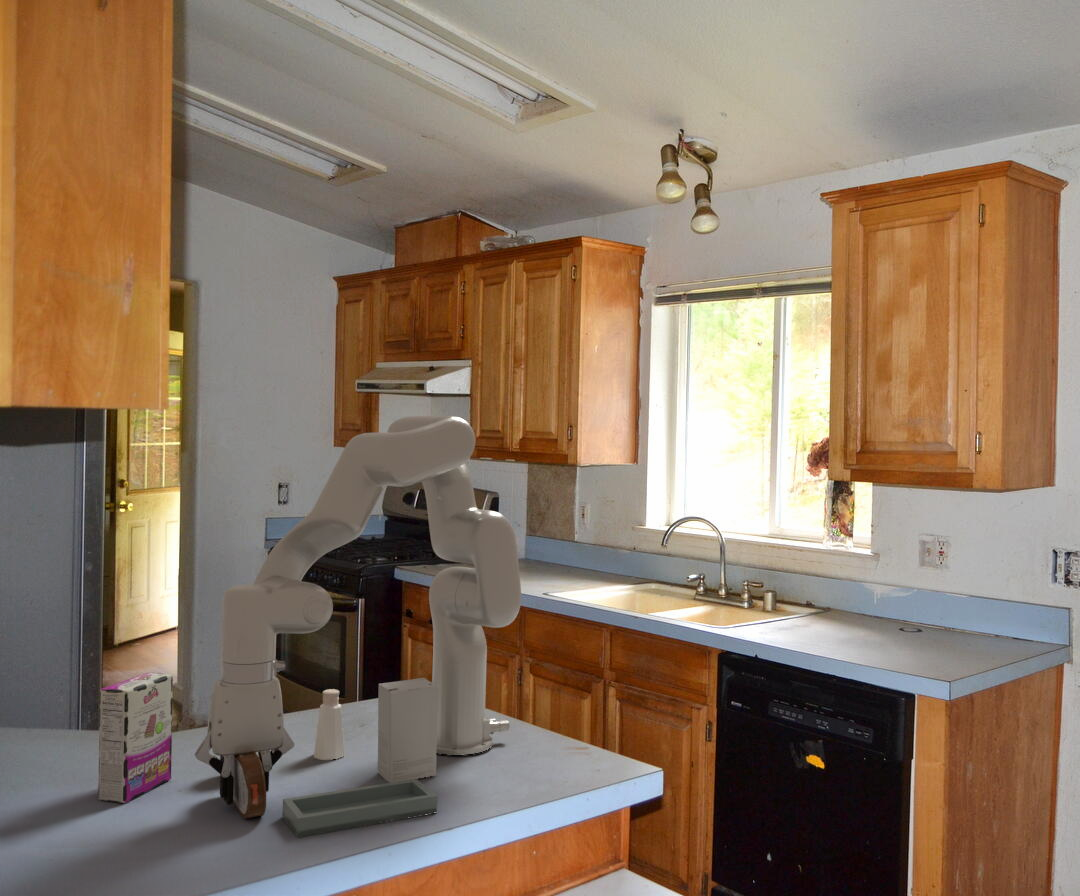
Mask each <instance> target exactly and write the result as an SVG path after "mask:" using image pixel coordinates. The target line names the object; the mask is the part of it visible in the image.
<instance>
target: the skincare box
mask: <svg viewBox="0 0 1080 896" xmlns="http://www.w3.org/2000/svg"><path fill="white" fill-rule="evenodd" d="M437 689H438V686H436V685H435V684H433V683H432V681H430V680H428V679H427V678H425V677H420V678H413V679H406V680H396V681H391V682H383V683H378V698H377V699H378V701H377V704H378V705H377V708H378V709H377V710H378V713H377V716H378V720H377V724H378V725H377V733H378V734H377V773H378V774H379V775H380V776H381V777H382V778H383V779H384V780H385V781H386V780H387V781H388V782H389V783H393V782H399V781H406V780H412V779H417V780H419V778H420V779H425V778H424V777H426V778H430V776H432V777H435V776H437V754H436V748H437ZM387 781H386V782H387ZM388 782H387V783H388Z"/></svg>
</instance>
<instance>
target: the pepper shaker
mask: <svg viewBox="0 0 1080 896" xmlns="http://www.w3.org/2000/svg"><path fill="white" fill-rule="evenodd" d="M339 695H340V690H338V689H335V688H332V689H331V688H329V689H328V688H327V689H325V690H323V691H322V703H321V704H320V706H319V711H318V713H319V714H318V720H317V729H316V736H315V745H314V746H315V747H314V750H313V752H314V753H313V758H314V759H316V758H317V759H316V760H321V761H334V760H333V759H336V760H339V759H341V758H340V757H342V758H344V757H345V743H344V730H343V726H344V725H343V715H342V704H340V703H339V699H340V698H339ZM343 756H344V757H343ZM338 758H339V759H338Z"/></svg>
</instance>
